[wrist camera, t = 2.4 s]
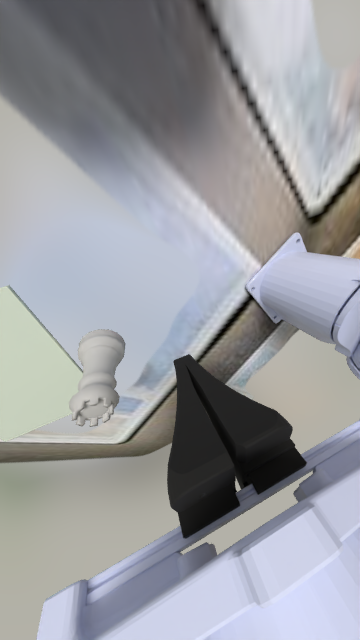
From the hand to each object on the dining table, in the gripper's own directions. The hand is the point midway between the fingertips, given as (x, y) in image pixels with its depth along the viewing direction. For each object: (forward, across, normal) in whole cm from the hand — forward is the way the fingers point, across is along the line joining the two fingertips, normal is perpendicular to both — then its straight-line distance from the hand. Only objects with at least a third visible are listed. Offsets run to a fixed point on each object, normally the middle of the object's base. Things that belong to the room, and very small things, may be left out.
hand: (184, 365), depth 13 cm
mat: (+7, +16, 0) cm, 18 cm away
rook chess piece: (+7, +7, 0) cm, 10 cm away
